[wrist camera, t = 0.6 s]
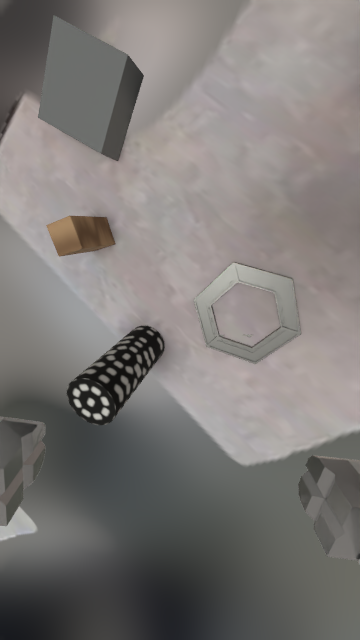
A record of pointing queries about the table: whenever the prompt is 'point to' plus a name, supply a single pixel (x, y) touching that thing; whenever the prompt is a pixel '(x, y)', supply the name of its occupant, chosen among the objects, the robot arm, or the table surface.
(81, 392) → the spotted tube
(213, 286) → the grey hexagonal ring
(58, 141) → the table surface
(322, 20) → the table surface
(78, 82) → the block
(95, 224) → the oak block
